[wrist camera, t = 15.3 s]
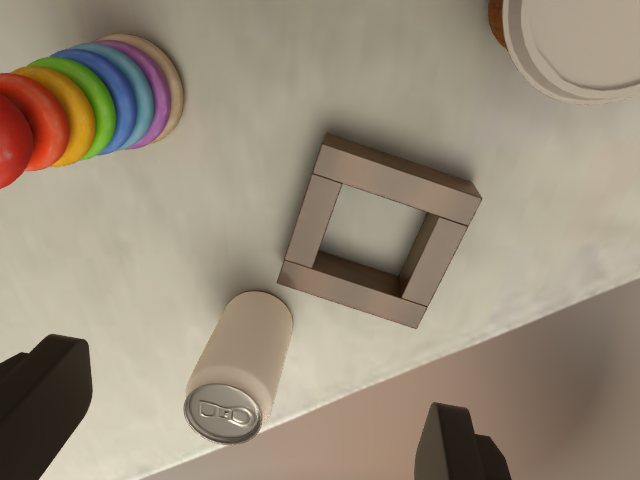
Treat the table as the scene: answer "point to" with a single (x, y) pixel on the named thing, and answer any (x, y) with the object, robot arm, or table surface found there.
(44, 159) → the stacking toy
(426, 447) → the robot arm
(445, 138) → the table surface
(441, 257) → the can stand
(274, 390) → the can
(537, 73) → the disposable coffee cup
